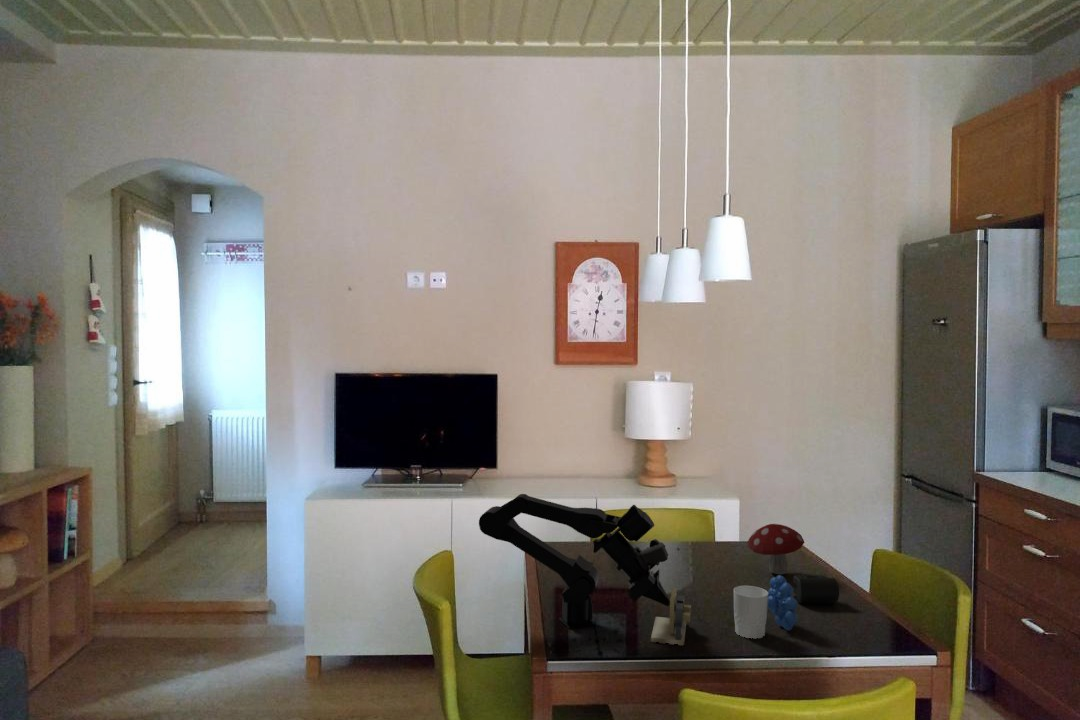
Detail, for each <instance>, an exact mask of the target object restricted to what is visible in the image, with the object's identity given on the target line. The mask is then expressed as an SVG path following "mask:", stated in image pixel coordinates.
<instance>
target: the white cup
mask: <svg viewBox="0 0 1080 720" xmlns="http://www.w3.org/2000/svg"><path fill="white" fill-rule="evenodd" d="M768 608H769V607H768V591H767V590H766V589H764V588H761V587H758V586H754V585H738V586H735V587H734V588H733V616H734V618H733V620H734V625H735V626H734V633H735V632H736V635H737V636H739V635H740V637H741V638H744V637H745V638H746V639H749V638H751V639H752V638H753V639H752V640H754V639H755V640H756V639H757V638H758V639H762V638H764V637H765V635H766V625H767V619H768V618H767V617H768ZM763 636H764V637H763ZM745 638H744V639H745Z"/></svg>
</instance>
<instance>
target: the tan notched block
mask: <svg viewBox="0 0 1080 720" xmlns="http://www.w3.org/2000/svg"><path fill="white" fill-rule="evenodd" d="M669 599H670V605H669V618H670V622H669V634H674V628H675V613H676V603H677V587H672V588H671V593H670V598H669ZM691 612H692V605H691V604H684V612H683V622H686V623H690V622H691Z"/></svg>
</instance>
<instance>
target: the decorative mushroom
mask: <svg viewBox="0 0 1080 720" xmlns="http://www.w3.org/2000/svg"><path fill="white" fill-rule="evenodd" d="M804 544H805V540H804V538H803V536H802V534H800V532H798V531H797V530H795V529H793V528H792V527H790V526H787V525H783V524H779V523H769V524H767V525H763V526H761V527H760V528H758V529H756V530H755V531H754V532H753V533H752V534H751V535H750V536H749V538H748V540H747V546H748V549H750V551H752V552H753V553H754V554H760V555H762V556H770V559H769V568H768V569H769V570H768V571H769V572H770V573H772V574H775V575H785V574H787V573H788V561H787V557H786V555H787V554H791V553H794V552H797V551H798V550H800V549H801V548H802V547H803V546H804Z"/></svg>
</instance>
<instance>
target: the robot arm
mask: <svg viewBox="0 0 1080 720" xmlns="http://www.w3.org/2000/svg"><path fill="white" fill-rule="evenodd" d="M520 514H525V515H528V516H531V517H532V516H533V517H536V518H540V519H543V520H546V521H550V522H555V523H557V524H562V525H566V526H567V527H570V528H571V529H573V530H574V531H575V532H577V533H579V534H581V535H583V536H586V537H588V538H591V539H593V541H592V544H593V549H592V551H593V553H595V554H596V553H598V552H599V551H601V549H602V550H603V551H604V552H605V553H606V554H607V555H608V557H609V558H610V559H611V560H612V562H614V564H615V565H616V569H617V570H618V572H620V571H622V572H623V573H624V574H625V575H626V577H627V578H628V582H629V588H628V590H627V591H628V597H629V598H630V599H631V600H632V601H633V602H636V601H637V600H638V599H640V598H641V597H645V598H647V599H650V600H653V601H655V602H657V603H659V604H661V605H663V606H666V607H670V598H669V595H668V594H667V592H666V590H665V589H664V587H663V585H662V582H661V581H660V569H658V570H656V571H655V572H654V571H651V570H652V569H653V568H654V567H655V566H657V567H658V566H660V563H664V562H666V561H668V559H669V558H668V556H669V553H668V551H667V548H666V544H664V542H662V541H661V542H660V541H659V540H658V539H657V538H654V539H652V540H650V541H649V546H648V547H646V548H645V549H643V550H641V549H640V547H638V546H635V547H634V546H633V545H632V544H631V542H636V543H637V542H638V541H640V539H642V538H643V537H644V536H645V535H646V534H647V533H648V532H649V531H651V529H653V528H654V527H655V522H654V521H653V519H652V518H651V517H650V515H649V514H648V513H646V512H645V511H643V510H642V509H641V508H639V507H637V505H636V504H632V505H631V506H630V507H629V509H627V511H625V512H624V514H623V515H622V516H618V515H612V514H607V513H606V512H605V511H604V510H602V509H601V508H595V507H594V508H593V507H572V506H566V505H563V504H560V503H556V502H553V501H549V500H545V499H541V498H538V497H534V496H529V495H528V494H526V493H521V494H518V495H516V496H515V498H513V499H511V500H510V501H507V502H506V503H504V504H503V505H501V506H498V505H497V506H496V505H495V506H492V507H490V508H488V509H487V510H486V511H485V512H484V513H482V514H481V515H480V516H479V520H478V527H479V530H480V532H482V534H484V535H486V536H488V537H490V538H493V539H495V540H497V541H498V540H499V541H504V542H507V543H510V544H511V545H513V546H514V547H516V548H517V549H519V550H521V551H522V552H524V553H525V554H526V555H529V556H530V557H531V558H533V559H534V560H536V561H538V562H539V563H541V564H542V565H543V566H545V567H547V568H549V569H550V570H552V571H553V572H555V573H556V574H558V576H559V577H560V578H561V580H562V581H563V582H564V584H565V585H566V586H565V588H564V589H563V591H562V594H561V596H562V606H561V607H562V608H561V610H562V611H561V613H562V615H561V616H559V618H558V619H559V621H561V623H563V624H564V625H565V627H567V628H568V629H571V630H572V629H576V628H577V629H579V628H585V627H592V626H594V625H595V623H594V621H593V618H594V604H593V602H592V597H591V595H592V594H593V592H595V589H596V587H597V584H598V582H599V579H600V578H599V577H600V575H599V571H598V569H597V568H596V567H595V566H594V563H593V562H591V561H588V560H587V559H585V558H584V557H583V556H582V555H581V554H580V555H578V556H577V557H576V559H575V558H571V557H568V556H566V555H565V554H563V553H561V552H560V551H559V550H557V549H555V548H553V547H552V546H551V545H549V544H548V543H546V542H545V541H543V540H542V539H540V538H538V537H537V536H535V535H533V534H532V533H530V531H527V530H525V529H524V528H523V527H521V526H520V525H519V523H518V522H517V521H516V520H515V517H517V516H518V515H520ZM601 536H602V537H601ZM599 537H600V538H599Z"/></svg>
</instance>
